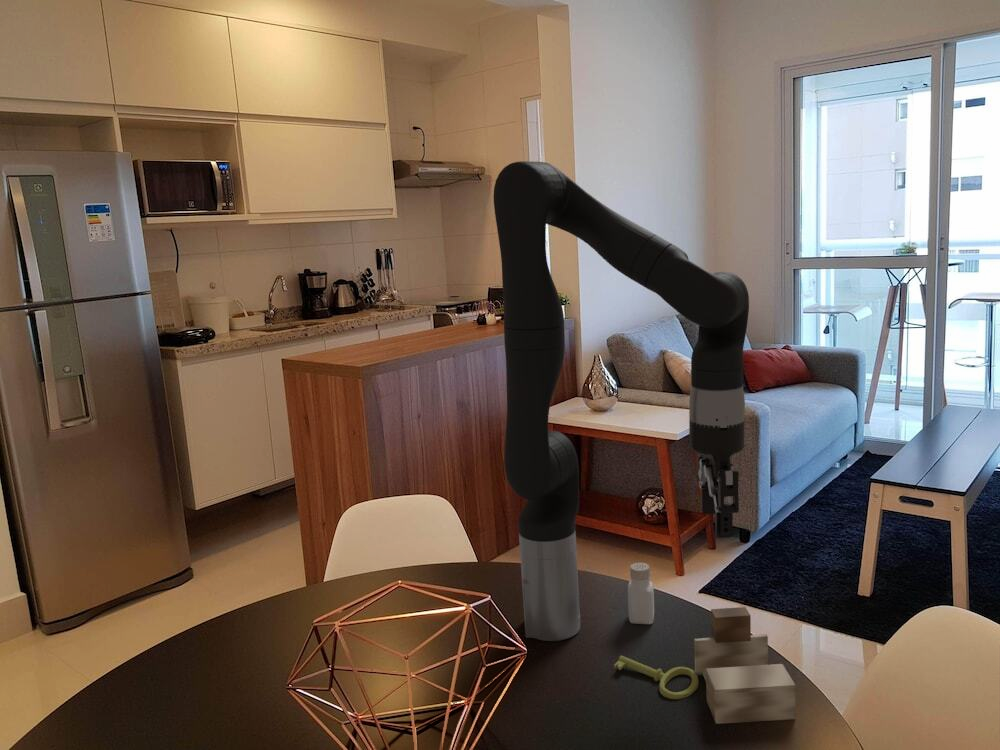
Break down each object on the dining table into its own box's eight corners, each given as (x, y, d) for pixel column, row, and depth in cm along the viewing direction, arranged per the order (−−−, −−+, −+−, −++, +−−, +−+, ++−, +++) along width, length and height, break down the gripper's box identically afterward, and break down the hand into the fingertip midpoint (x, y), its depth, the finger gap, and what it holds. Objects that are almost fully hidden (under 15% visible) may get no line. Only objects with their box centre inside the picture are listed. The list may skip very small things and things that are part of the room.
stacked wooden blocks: (702, 688, 116) (701, 629, 114) (693, 667, 121) (692, 610, 119) (776, 684, 115) (776, 624, 114) (764, 663, 121) (764, 605, 119)
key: (617, 666, 124) (617, 653, 124) (700, 676, 120) (700, 663, 120) (607, 693, 118) (607, 680, 117) (695, 705, 113) (694, 691, 113)
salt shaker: (628, 624, 135) (626, 571, 133) (630, 612, 139) (628, 560, 137) (653, 625, 134) (651, 572, 132) (654, 614, 138) (652, 561, 136)
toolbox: (716, 723, 108) (715, 689, 107) (706, 701, 113) (705, 668, 112) (795, 719, 108) (795, 685, 107) (782, 696, 113) (782, 663, 112)
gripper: (679, 405, 121) (679, 507, 125) (701, 431, 108) (701, 546, 111) (730, 402, 121) (729, 505, 125) (758, 429, 107) (757, 544, 111)
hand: (716, 524), depth 118 cm, fingers open, 8 cm apart
